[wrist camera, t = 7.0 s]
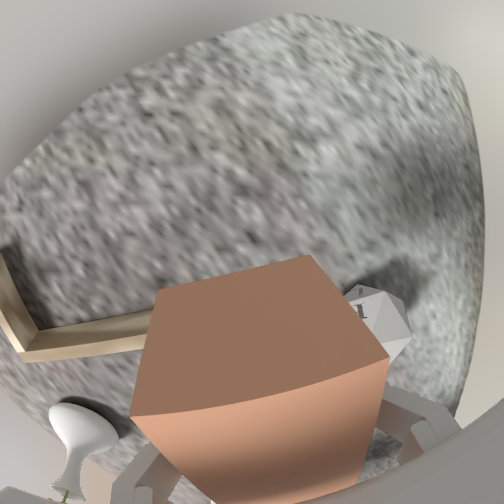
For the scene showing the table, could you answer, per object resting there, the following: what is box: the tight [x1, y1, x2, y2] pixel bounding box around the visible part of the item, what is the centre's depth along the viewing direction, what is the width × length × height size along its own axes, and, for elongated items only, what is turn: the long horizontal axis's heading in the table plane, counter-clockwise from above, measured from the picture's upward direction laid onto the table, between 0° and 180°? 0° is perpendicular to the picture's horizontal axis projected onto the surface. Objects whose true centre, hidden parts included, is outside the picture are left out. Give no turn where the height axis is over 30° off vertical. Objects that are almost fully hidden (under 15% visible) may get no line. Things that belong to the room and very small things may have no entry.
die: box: [344, 284, 413, 364], centre depth 26 cm, size 8×9×10 cm
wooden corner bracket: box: [0, 252, 153, 363], centre depth 23 cm, size 12×20×4 cm, turn 101°
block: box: [130, 255, 390, 504], centre depth 9 cm, size 5×9×5 cm, turn 10°
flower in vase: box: [49, 403, 119, 504], centre depth 21 cm, size 13×11×25 cm
